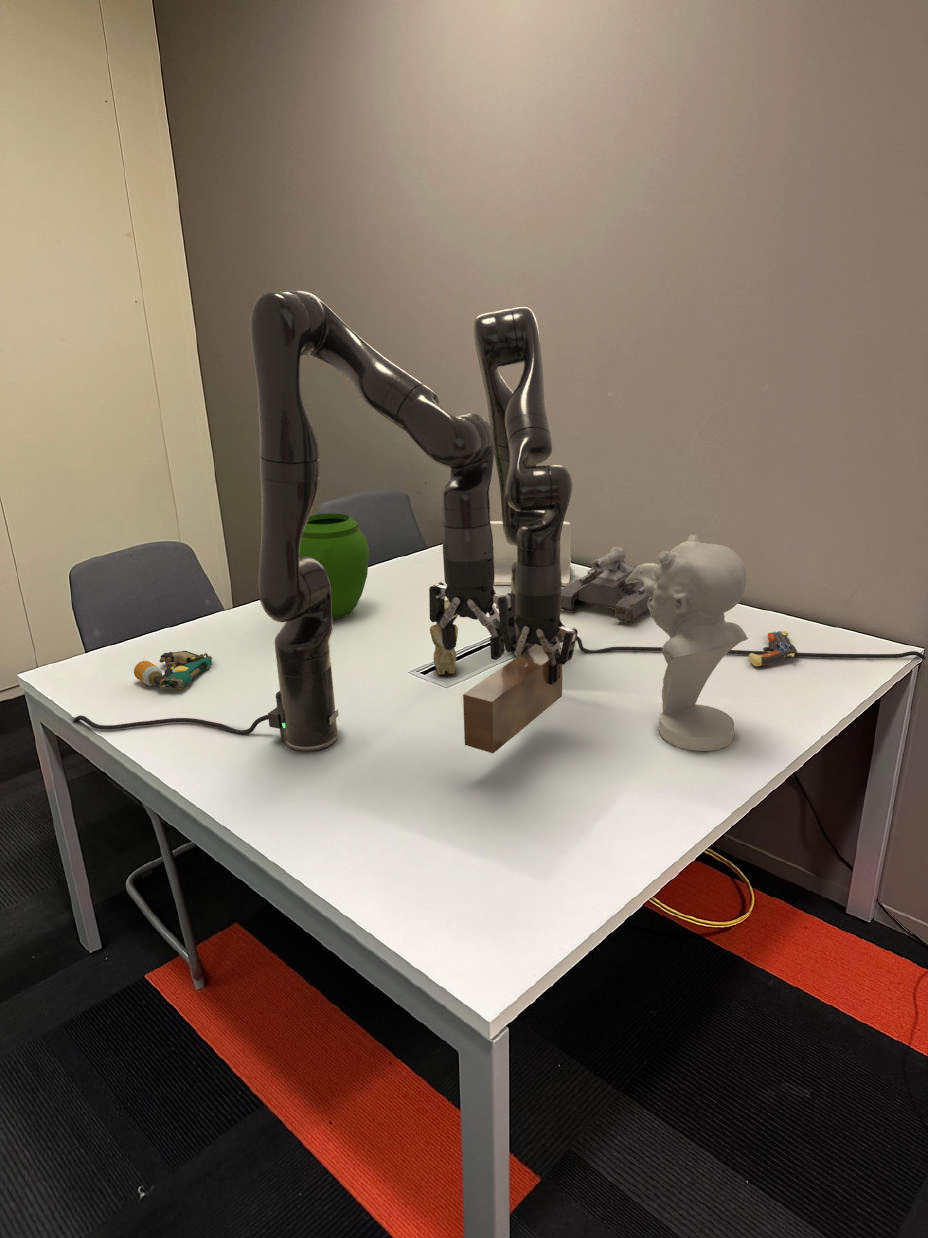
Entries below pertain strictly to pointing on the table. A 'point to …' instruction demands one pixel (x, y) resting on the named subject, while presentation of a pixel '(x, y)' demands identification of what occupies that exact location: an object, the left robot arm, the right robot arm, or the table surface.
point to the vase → (338, 557)
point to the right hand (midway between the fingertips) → (538, 678)
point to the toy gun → (774, 649)
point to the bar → (509, 700)
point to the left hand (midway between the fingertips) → (473, 653)
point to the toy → (608, 588)
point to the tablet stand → (508, 554)
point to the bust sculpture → (694, 634)
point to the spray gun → (172, 669)
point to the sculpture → (443, 649)
